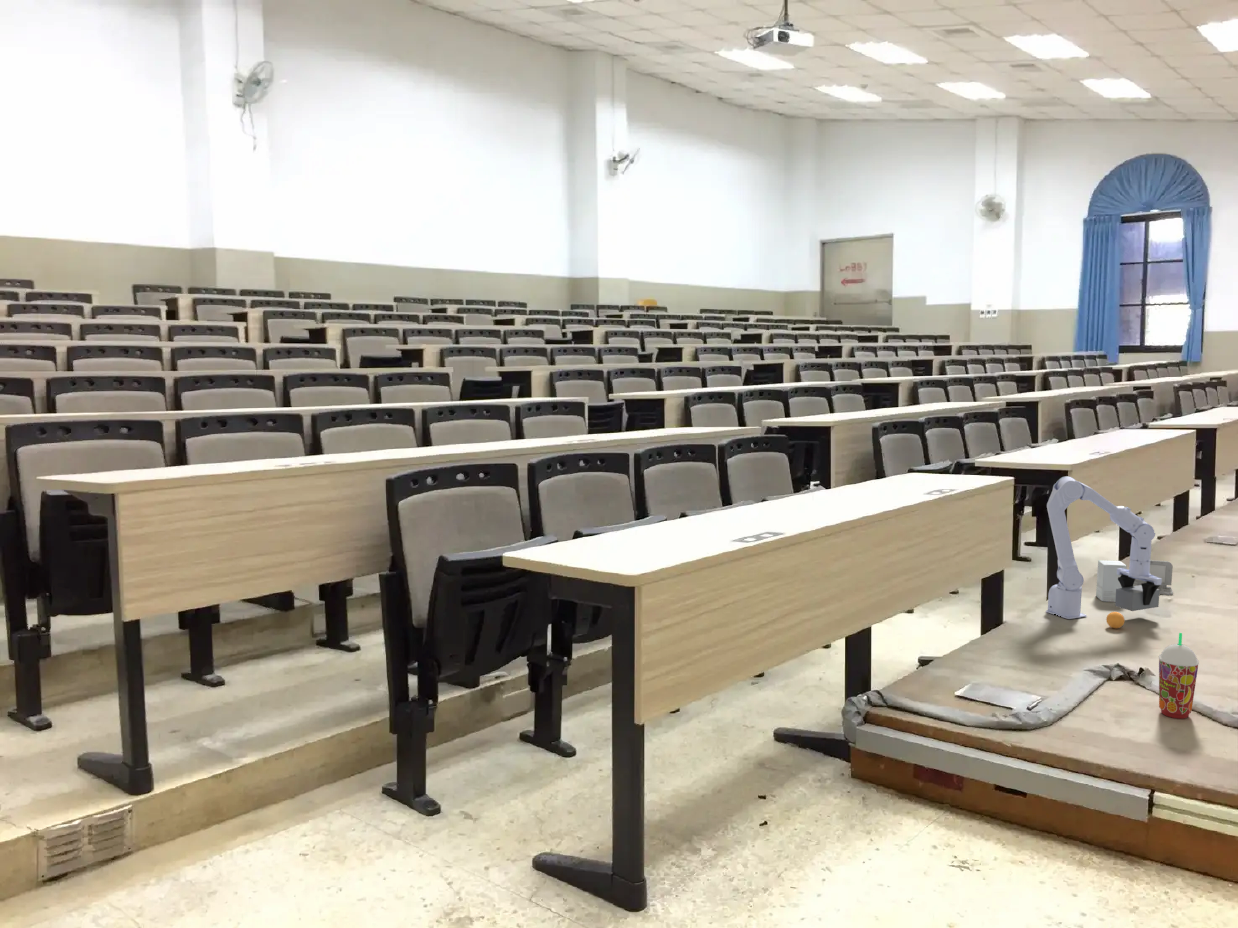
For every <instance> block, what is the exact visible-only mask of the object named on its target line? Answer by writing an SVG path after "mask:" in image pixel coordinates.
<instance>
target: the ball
mask: <svg viewBox="0 0 1238 928" xmlns="http://www.w3.org/2000/svg"><path fill="white" fill-rule="evenodd" d="M1105 620H1106V623H1107V625H1108V626H1109V627H1110V628H1112V629H1121V628H1122V626H1124V624H1125V617H1124V615H1123V614H1122V613H1121V612H1118V611H1111V612H1110V613H1108V614H1107V615H1106V619H1105Z"/></svg>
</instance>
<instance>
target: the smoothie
mask: <svg viewBox="0 0 1238 928" xmlns="http://www.w3.org/2000/svg"><path fill="white" fill-rule="evenodd" d="M1182 641H1183V633H1182V632H1179V633H1178V643H1173V644H1169V645H1168V646H1166V647H1165V648H1164V649H1163V650H1162V652H1161V653H1160V654H1159V656H1158V707H1159V709H1160V711H1161V712H1160V713H1161V714H1162V715H1164V716H1166V717H1168V718H1171V719H1177V720H1178V719H1179V720H1180V719H1182V720H1184V719H1187V718H1189V715H1190V714H1191V713H1192V710H1193V704H1194V697H1195V689H1196V684H1197V675H1198V669H1199V665H1200V661H1199V660H1198V657H1197V654H1196V653H1195V651H1193V649H1192V648H1190V647H1189V646H1187V645H1185V644H1182V643H1183V642H1182Z"/></svg>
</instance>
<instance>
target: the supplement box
mask: <svg viewBox="0 0 1238 928" xmlns="http://www.w3.org/2000/svg"><path fill="white" fill-rule="evenodd" d="M1119 568H1123V569H1127V565H1126V564H1125V563H1124V562H1122V561H1121V560H1108V559H1107V560H1106V559H1104V560H1103V559H1102V560H1100V559H1098V560H1097V570H1096V571H1097V573H1096V575H1097V576H1096V589H1095V591H1096V593H1095V597H1097V598H1098V599H1099V600H1100V601H1101V602H1111V603H1115V599H1116V589H1118V588H1122V587H1121V584H1120V582H1119V581H1118V577H1120V576H1121V575H1117V569H1119Z"/></svg>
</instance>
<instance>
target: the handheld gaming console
mask: <svg viewBox="0 0 1238 928" xmlns="http://www.w3.org/2000/svg"><path fill="white" fill-rule="evenodd" d="M1150 574H1151V575H1153V576H1156V577H1158V578H1162V583H1161V585H1160V586H1159V587H1158V588H1157V589H1159V590H1160V593H1159V595H1164V596H1172V595H1174V592H1173V588H1172V587H1171V586H1172V584H1173V583H1172V582H1173V581H1172V579H1173V564H1172V562H1170V561H1169V560H1168V561H1165V560H1156V559H1155V560H1153V559H1150ZM1141 583H1146V581H1142V580H1138V579H1135V581H1134V584H1133V586H1138V585H1141Z"/></svg>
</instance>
